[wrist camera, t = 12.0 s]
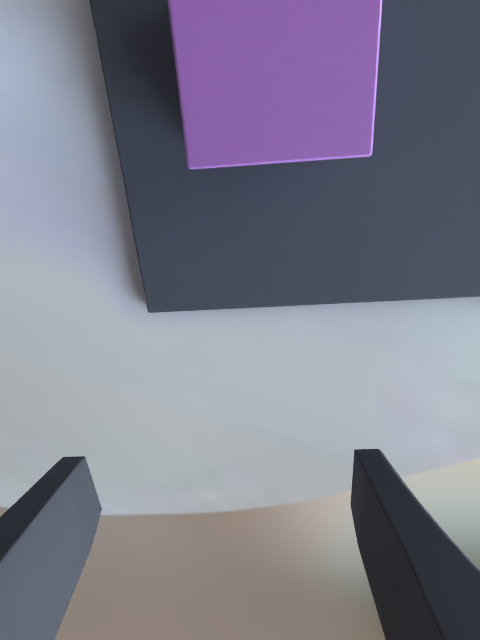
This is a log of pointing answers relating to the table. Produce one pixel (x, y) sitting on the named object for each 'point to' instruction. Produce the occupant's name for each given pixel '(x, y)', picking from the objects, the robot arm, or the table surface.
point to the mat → (306, 177)
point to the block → (275, 79)
